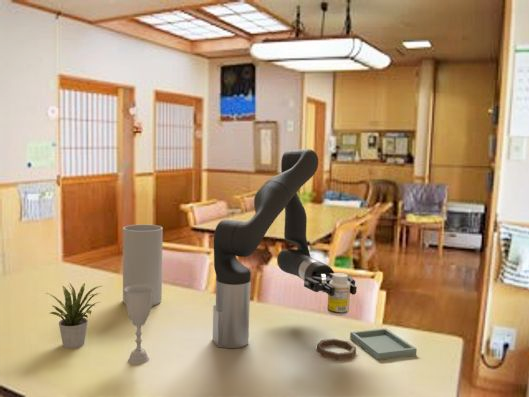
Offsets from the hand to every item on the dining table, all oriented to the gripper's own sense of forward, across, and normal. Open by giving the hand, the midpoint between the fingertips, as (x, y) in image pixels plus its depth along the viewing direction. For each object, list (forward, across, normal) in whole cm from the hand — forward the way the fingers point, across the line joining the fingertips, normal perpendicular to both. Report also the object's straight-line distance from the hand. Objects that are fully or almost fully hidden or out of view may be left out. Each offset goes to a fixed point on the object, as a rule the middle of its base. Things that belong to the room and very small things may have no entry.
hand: (344, 291), depth 126 cm
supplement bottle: (-3, 0, +7) cm, 7 cm away
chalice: (-11, -50, +18) cm, 54 cm away
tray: (-3, +14, +17) cm, 22 cm away
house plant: (-24, -64, +18) cm, 70 cm away
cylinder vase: (-55, -45, +18) cm, 73 cm away
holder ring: (-3, 0, +17) cm, 17 cm away
